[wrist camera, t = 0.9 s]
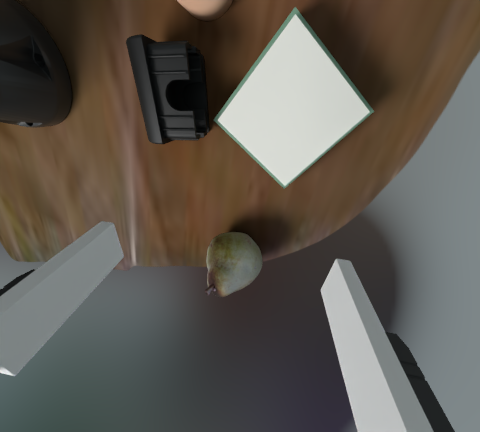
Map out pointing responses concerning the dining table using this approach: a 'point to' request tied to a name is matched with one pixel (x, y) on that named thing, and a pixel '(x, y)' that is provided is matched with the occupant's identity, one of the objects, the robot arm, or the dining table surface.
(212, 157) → the dining table surface
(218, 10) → the pinkish tan egg
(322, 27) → the dining table surface
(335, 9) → the dining table surface
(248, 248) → the fruit
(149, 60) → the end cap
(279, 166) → the stand
